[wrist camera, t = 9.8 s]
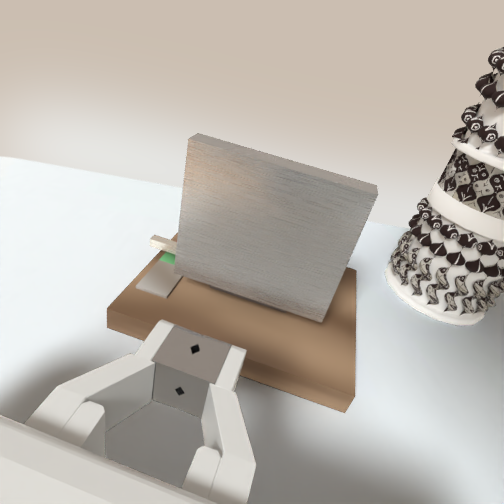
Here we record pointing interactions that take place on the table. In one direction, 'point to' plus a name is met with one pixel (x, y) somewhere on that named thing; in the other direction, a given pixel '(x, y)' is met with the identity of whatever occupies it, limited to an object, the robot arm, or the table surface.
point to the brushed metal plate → (266, 226)
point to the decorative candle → (460, 220)
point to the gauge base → (251, 330)
